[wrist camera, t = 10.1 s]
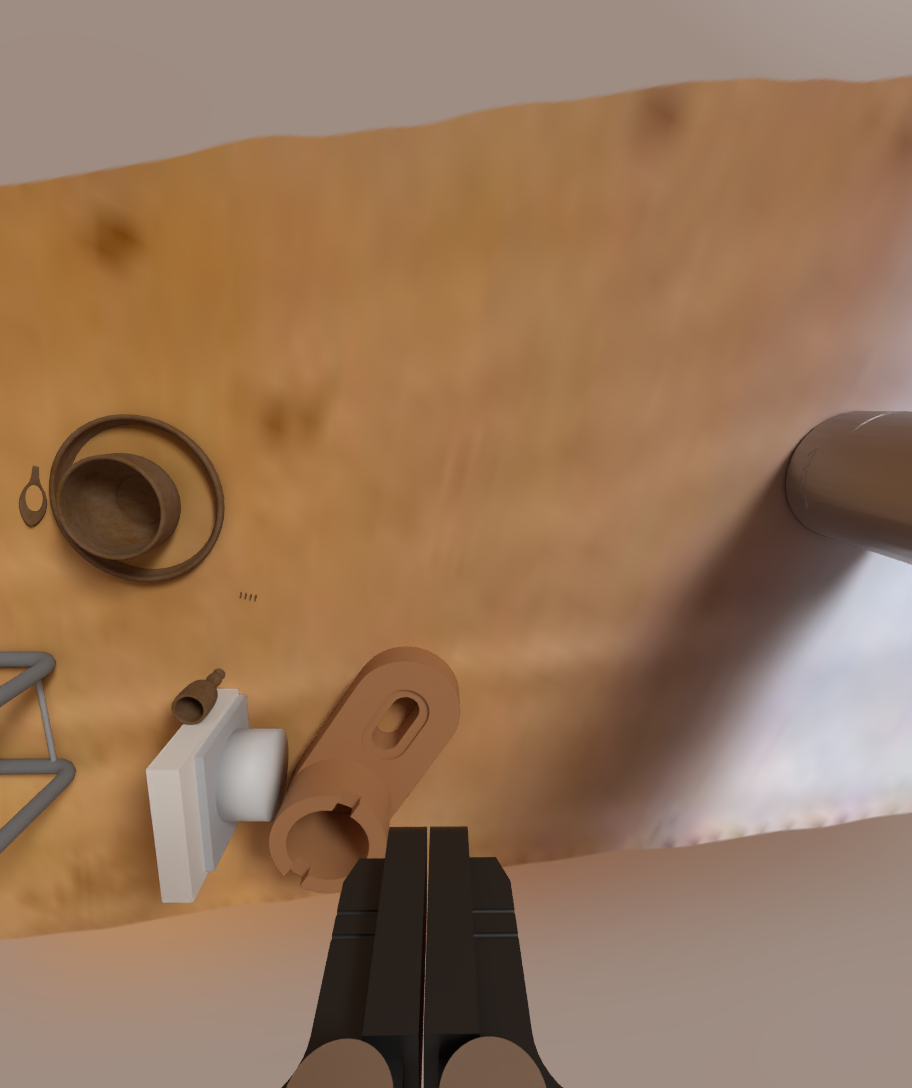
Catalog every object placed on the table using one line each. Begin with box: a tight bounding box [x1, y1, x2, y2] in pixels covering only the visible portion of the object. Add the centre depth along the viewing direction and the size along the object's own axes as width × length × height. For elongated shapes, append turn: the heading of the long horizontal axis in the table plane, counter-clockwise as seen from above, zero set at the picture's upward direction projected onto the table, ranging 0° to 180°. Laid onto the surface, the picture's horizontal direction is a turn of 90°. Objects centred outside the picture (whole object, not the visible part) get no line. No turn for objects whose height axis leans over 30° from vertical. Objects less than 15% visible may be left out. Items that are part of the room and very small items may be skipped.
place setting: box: [19, 414, 257, 725], centre depth 38 cm, size 18×20×6 cm
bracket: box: [269, 647, 460, 893], centre depth 41 cm, size 18×8×7 cm, turn 146°
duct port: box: [146, 689, 288, 903], centre depth 40 cm, size 6×10×10 cm, turn 178°
